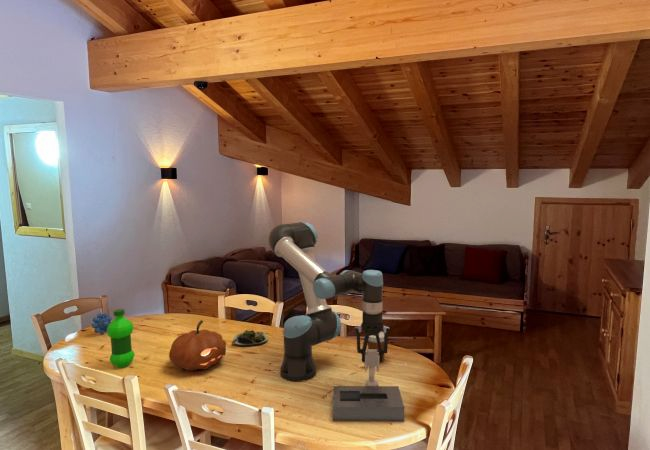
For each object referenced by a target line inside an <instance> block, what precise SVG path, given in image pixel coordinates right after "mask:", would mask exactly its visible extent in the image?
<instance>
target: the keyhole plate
mask: <svg viewBox="0 0 650 450" xmlns="http://www.w3.org/2000/svg"><path fill="white" fill-rule="evenodd" d="M332 391H333V392H332V421H333V422H334V421H335V422H336V421H342V422H344V421H345V422H346V421H347V422H348V421H349V422H352V421H353V422H360V421H361V422H405V405H404V401H403V398H402V394H401V391H400V388H399V386H398V385H397V386H395V385H394V386H393V385H391V386H390V385H389V386H388V385H378V386H365V385H333V388H332Z"/></svg>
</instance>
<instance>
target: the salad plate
mask: <svg viewBox="0 0 650 450" xmlns="http://www.w3.org/2000/svg"><path fill="white" fill-rule="evenodd" d="M267 342H268V335H267V333H266V332H263V331H254V329H253V330H249V329H246V330H245V331H243V332H241V333H238V334H236V335H234V337H233V341H232V342H231V345H235V346H237V347H240V348H249V347H251V348H252V347H259V346H262V345H265V344H266V343H267Z"/></svg>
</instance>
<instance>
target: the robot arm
mask: <svg viewBox="0 0 650 450" xmlns="http://www.w3.org/2000/svg"><path fill="white" fill-rule="evenodd" d="M267 241H268V242H267V243H268V247H269V248H270V250H271V251H272V252H273V253H274V255H276V256H277V257H280V258H283V259H284V260H285V261H286V263H288V264H289V265H290V266H291V267H292V268H294V269H295V270H296V272H298V276H299V279H300V284H301V288H302V292H303V295H304V299H305V303H306V307H307V311H306V313H305V315H303V314H302V315H295V316H292V317H289V318H288V319H287V320H286V321H285V322H284V325H283V332H282V333H283V334H282V335H283V354H284V355H283V359H282V363H281V366H280V377H281V378H282V379H284V380H286V381H289V382H297V383H298V382H304V381H309V380H311V379H313V378H314V377H315V376H316V374H317V365H316V362H315V360H314V357H313V346H316V345H319V344H322V343H325V342H328V341H332V340H333V339H335V338H336V337H338V336H339V335H340V332H341V329H342V322H341V318H340V315H339V314H338V313H337V312H336V311H333V308H332V307H331V306H330V305H329V304H328V303H327V300H326V299H331V298H333V297H334V298H335V297H337V296H342V295H346V294H349V293H352V292H355V293H358V294H362V320H361V321H362V322H361V324H360V325H358V326H357V325H355V327H354V332H355V334H356V352H357V354H361V361H362V362H361V363H364V372H368V366H367V352H366V349H368V339H369V336H371V335H373V336H376V340H377V345H378V350H379V352H377V353H378V366H376V371H377V372H380V363H379V362H381V363H383V362H382V355H383V354H384V353H385V354H387V353H388V345H389V334H390V332H391V329H390V327H389V326H385V325H384V323H383V295H384V294H383V293H384V292H383V290H384V277H383V273H382V271H381V270H375V269H366V270H363V272H362V273H361V272H358V271H355V270H351V269H350V270H347V269H346V270H343V271H342V272H340V274H336V275H333V274H330V272H328V271H327V270H326V269H324V268H323V267H322V266H321V265H320V264H319V263H317V262H316V258H315V256H314V252H315V249H316V247H315V245H317V242H318V233H317V230H316V228H315V226H314V225H312V224H311V223H309V222H306V221H305V222H301V221H299V222H291V223H281V224H278V225H276V226H274V227H273V228H272V229H271V230H270V231H269V234H268V238H267ZM382 330H383V331H382ZM362 331H363V332H364V339H363V344H362V348H361V332H362ZM380 332H384V348H383V349H382V348H381V343H380V338H379V333H380ZM385 354H384V355H385Z"/></svg>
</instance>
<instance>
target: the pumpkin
mask: <svg viewBox="0 0 650 450" xmlns="http://www.w3.org/2000/svg"><path fill="white" fill-rule="evenodd" d="M203 322H204V320H202V319H201V320H200V321H199V322H198V323H197V326H196V330H191V331H189V332H187V333H182V334H180V335H179V336H177V337H175V338H174V341H173V342H172V343H171V346H170V349H169V353H168V358H169V361H170V362H171V364H173V365H174V366H176V367H178V368H181V369H185V370H187V371H195V370H206V369H208V368H209V367H211V366H213V365H214V366H215V365H216V364H218V363H219V362H220V361H221V360H222V359H223V357H224V356H226V351H227V348H226V345H227V343H226V341H225V340H224V338H223V335H222V334H221V333H219V332H216V331H212V330H209V329H205V328H204V329H200V327H201V325H202V324H203Z"/></svg>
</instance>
